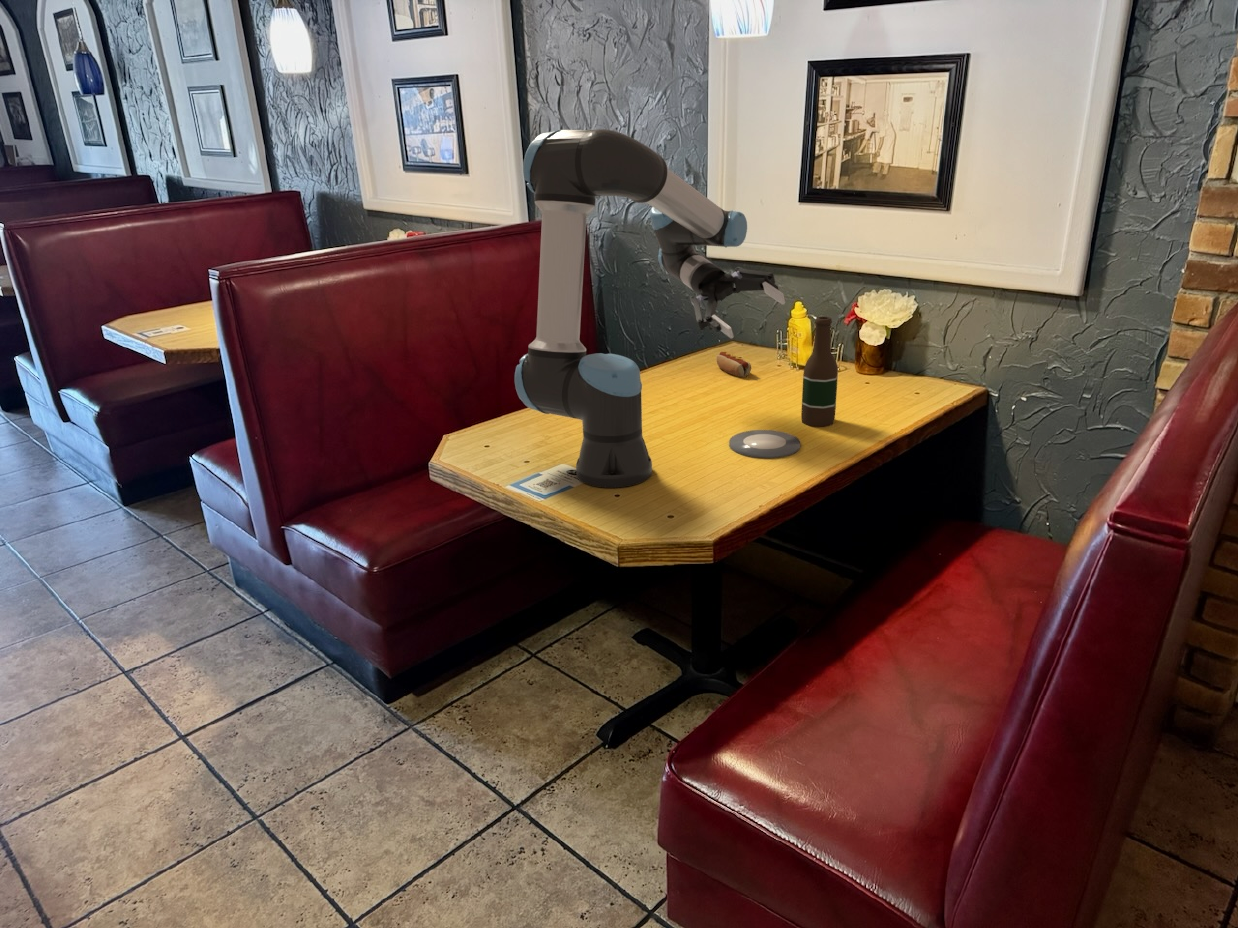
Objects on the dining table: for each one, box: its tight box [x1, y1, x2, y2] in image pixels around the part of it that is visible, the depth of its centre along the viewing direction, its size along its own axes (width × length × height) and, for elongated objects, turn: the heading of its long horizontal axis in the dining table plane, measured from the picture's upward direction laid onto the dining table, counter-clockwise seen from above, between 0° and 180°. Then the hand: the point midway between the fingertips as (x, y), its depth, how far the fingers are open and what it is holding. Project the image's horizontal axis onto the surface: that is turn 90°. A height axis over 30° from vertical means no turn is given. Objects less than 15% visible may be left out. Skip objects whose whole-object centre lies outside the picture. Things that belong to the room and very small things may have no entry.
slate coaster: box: [728, 429, 801, 459], centre depth 180 cm, size 15×15×1 cm
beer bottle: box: [800, 316, 839, 428], centre depth 188 cm, size 8×8×24 cm
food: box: [716, 351, 752, 378], centre depth 232 cm, size 14×6×5 cm, turn 23°
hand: (757, 316), depth 178 cm, fingers open, 13 cm apart
